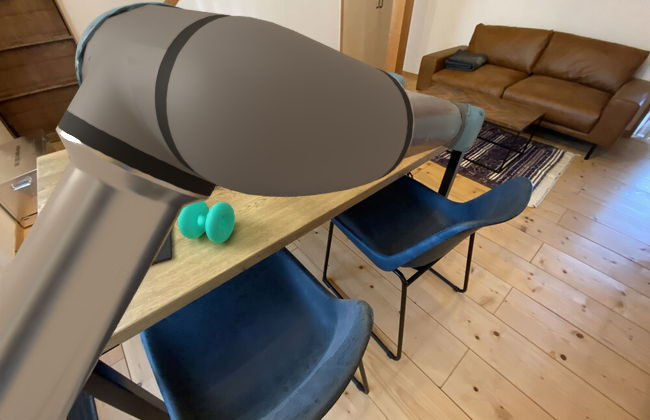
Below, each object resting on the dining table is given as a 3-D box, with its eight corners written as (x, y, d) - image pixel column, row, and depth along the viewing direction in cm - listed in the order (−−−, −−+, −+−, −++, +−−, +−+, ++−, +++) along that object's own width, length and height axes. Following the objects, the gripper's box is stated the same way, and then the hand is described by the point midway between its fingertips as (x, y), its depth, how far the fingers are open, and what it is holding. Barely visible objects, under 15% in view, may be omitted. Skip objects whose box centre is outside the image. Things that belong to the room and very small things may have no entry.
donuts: (205, 218, 74) (193, 189, 68) (240, 223, 73) (231, 194, 66) (184, 246, 67) (168, 216, 61) (222, 252, 66) (210, 223, 59)
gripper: (343, 205, 53) (231, 218, 51) (323, 142, 71) (240, 150, 69) (344, 173, 48) (220, 186, 46) (322, 114, 66) (233, 121, 64)
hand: (232, 164), depth 57 cm, fingers open, 13 cm apart
